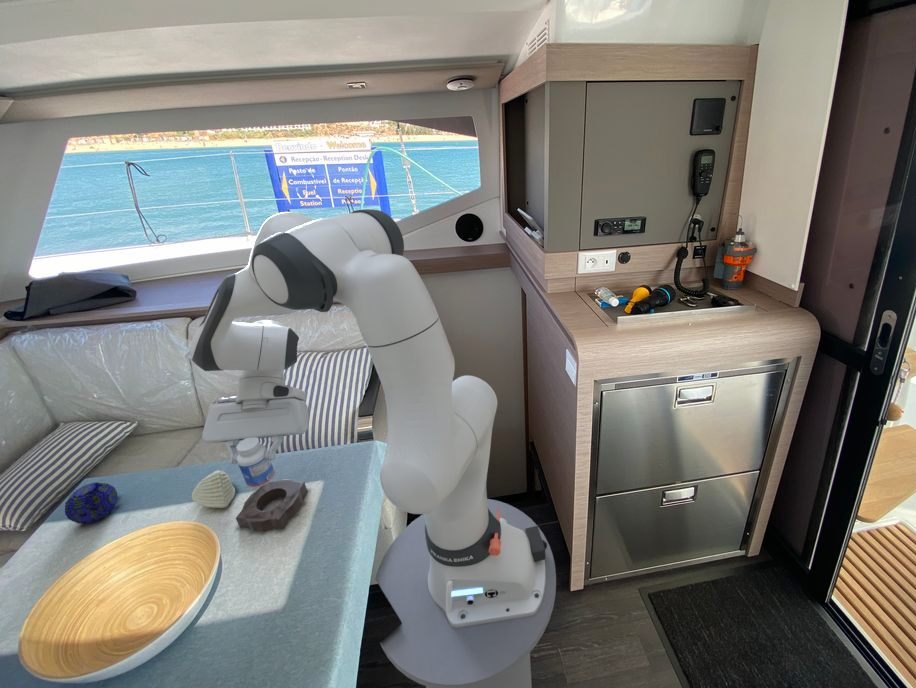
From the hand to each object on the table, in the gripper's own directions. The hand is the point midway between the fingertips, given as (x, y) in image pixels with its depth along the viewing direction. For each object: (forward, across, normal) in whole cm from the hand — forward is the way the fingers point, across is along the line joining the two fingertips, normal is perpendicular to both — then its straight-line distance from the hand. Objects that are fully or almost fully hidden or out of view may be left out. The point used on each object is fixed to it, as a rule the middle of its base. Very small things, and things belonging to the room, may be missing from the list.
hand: (252, 461), depth 85 cm
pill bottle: (+4, 0, +4) cm, 6 cm away
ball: (+7, -42, +16) cm, 45 cm away
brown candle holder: (+10, -1, +13) cm, 16 cm away
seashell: (+7, -16, +17) cm, 24 cm away
